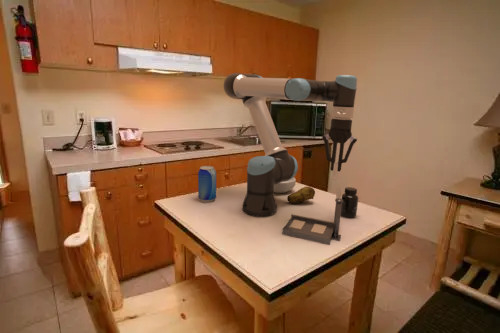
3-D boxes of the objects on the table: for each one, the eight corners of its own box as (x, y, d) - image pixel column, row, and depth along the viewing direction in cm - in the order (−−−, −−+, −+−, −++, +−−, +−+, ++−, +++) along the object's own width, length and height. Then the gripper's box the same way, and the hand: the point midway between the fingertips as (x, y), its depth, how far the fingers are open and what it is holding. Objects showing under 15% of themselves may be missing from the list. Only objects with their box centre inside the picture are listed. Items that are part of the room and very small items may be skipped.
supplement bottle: (357, 219, 119) (360, 192, 116) (340, 217, 120) (343, 190, 117) (354, 212, 125) (358, 187, 122) (338, 211, 127) (341, 185, 124)
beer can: (219, 199, 137) (219, 167, 133) (208, 204, 130) (208, 170, 126) (206, 195, 142) (206, 164, 138) (194, 200, 135) (194, 167, 131)
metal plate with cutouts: (282, 234, 104) (282, 226, 103) (291, 221, 115) (291, 214, 114) (329, 244, 97) (330, 236, 96) (334, 230, 108) (335, 222, 107)
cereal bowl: (280, 184, 164) (281, 172, 162) (301, 192, 151) (302, 179, 149) (257, 189, 154) (257, 176, 152) (277, 198, 141) (278, 184, 139)
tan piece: (335, 203, 119) (336, 187, 117) (339, 204, 118) (341, 188, 116) (334, 220, 102) (336, 201, 101) (339, 220, 102) (341, 202, 100)
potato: (287, 198, 140) (288, 183, 139) (313, 200, 139) (314, 185, 137) (286, 204, 132) (287, 188, 131) (314, 207, 131) (316, 190, 129)
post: (329, 238, 101) (333, 200, 98) (330, 234, 104) (334, 197, 101) (339, 241, 100) (344, 202, 96) (340, 236, 103) (345, 199, 100)
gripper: (322, 117, 105) (316, 178, 111) (359, 120, 100) (351, 184, 106) (325, 116, 112) (319, 174, 118) (360, 119, 107) (352, 179, 113)
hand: (334, 178), depth 112 cm, fingers closed
